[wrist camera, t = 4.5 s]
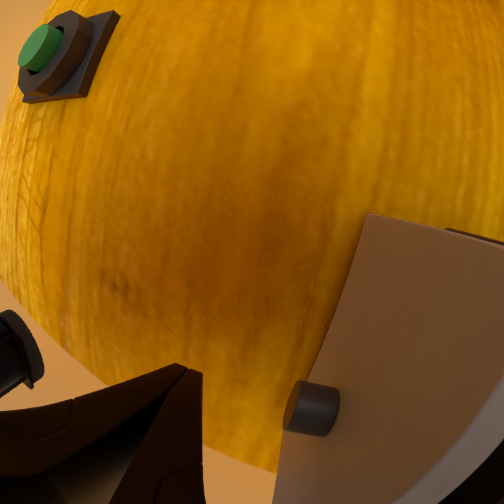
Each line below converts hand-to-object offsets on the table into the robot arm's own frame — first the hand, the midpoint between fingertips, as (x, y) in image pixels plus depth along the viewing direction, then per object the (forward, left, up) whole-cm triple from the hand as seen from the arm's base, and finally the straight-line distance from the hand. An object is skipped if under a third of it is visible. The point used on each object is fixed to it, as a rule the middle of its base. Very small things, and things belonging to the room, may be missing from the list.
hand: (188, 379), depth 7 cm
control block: (+12, +15, -6) cm, 20 cm away
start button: (+12, +15, -3) cm, 19 cm away
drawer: (0, -8, -5) cm, 10 cm away
